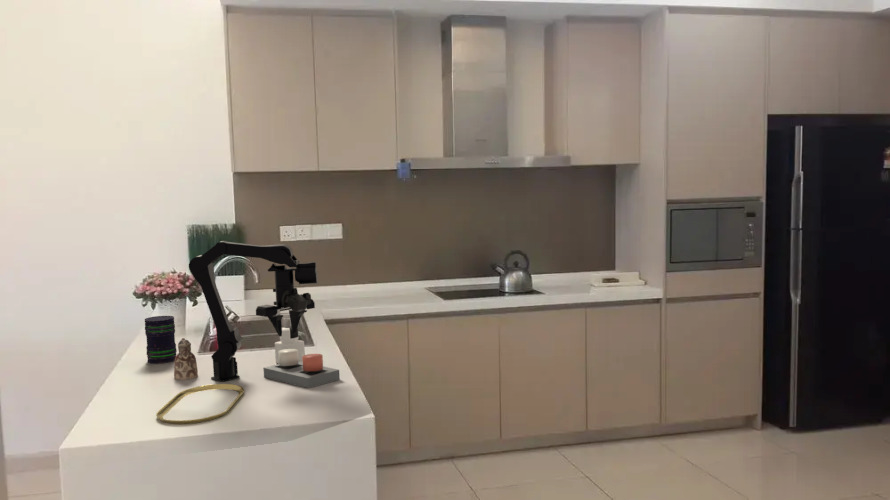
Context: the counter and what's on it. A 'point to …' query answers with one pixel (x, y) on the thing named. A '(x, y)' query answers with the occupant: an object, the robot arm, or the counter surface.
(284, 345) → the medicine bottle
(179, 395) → the brass oval bangle
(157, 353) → the storage jar
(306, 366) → the red button
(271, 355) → the counter surface
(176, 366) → the figurine
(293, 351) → the white button
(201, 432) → the counter surface
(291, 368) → the grey holder tray
